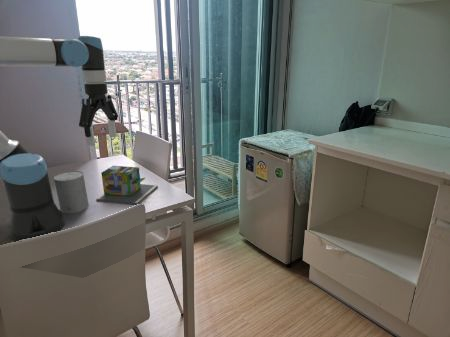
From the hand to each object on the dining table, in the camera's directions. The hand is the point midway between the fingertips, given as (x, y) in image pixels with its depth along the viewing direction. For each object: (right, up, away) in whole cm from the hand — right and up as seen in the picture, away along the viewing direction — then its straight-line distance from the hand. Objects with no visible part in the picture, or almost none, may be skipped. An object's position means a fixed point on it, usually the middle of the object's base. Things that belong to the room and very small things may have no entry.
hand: (102, 141), depth 122 cm
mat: (+8, -20, +6) cm, 23 cm away
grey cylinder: (-8, -25, -5) cm, 26 cm away
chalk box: (0, -15, +6) cm, 16 cm away
